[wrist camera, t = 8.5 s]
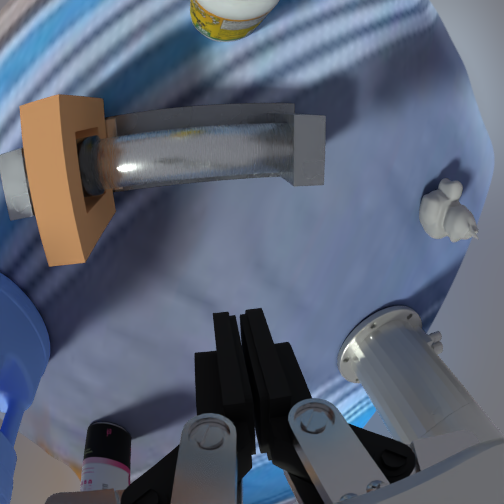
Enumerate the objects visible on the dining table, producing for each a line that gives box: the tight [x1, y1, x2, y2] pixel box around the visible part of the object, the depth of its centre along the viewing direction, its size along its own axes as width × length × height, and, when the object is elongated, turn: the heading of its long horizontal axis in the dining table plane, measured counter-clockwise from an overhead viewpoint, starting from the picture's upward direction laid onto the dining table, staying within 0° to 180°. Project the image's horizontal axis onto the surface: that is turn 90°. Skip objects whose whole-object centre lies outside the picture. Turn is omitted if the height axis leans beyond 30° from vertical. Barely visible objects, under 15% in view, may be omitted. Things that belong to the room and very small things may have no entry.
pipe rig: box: [0, 103, 326, 221], centre depth 19 cm, size 21×6×7 cm, turn 91°
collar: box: [20, 94, 116, 267], centre depth 17 cm, size 2×9×9 cm, turn 1°
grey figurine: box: [419, 178, 478, 242], centre depth 26 cm, size 5×7×8 cm
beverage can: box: [80, 422, 131, 491], centre depth 29 cm, size 6×6×15 cm
